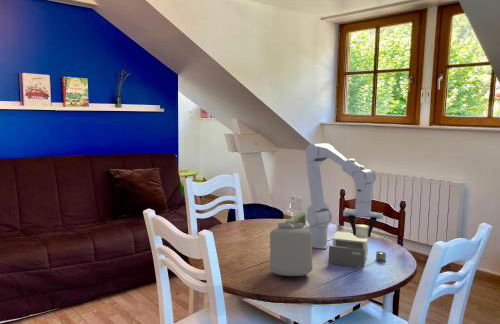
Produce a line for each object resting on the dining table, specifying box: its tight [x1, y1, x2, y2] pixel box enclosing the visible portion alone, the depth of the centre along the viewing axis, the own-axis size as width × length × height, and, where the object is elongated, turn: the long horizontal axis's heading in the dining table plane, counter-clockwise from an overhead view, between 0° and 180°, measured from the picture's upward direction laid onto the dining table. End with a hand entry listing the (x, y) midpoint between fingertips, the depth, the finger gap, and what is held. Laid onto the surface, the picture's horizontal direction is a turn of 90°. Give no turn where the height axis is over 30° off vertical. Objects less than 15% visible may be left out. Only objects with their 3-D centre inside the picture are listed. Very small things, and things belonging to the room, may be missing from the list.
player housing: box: [332, 231, 369, 261], centre depth 167 cm, size 13×10×7 cm
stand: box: [375, 250, 387, 263], centre depth 161 cm, size 4×4×3 cm
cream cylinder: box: [355, 224, 370, 239], centre depth 158 cm, size 5×5×4 cm
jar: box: [269, 203, 313, 277], centre depth 146 cm, size 19×15×25 cm
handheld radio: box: [284, 211, 307, 227], centre depth 200 cm, size 7×3×25 cm
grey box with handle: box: [328, 245, 365, 268], centre depth 158 cm, size 13×10×7 cm
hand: (361, 235), depth 159 cm, fingers closed on cream cylinder, 5 cm apart
